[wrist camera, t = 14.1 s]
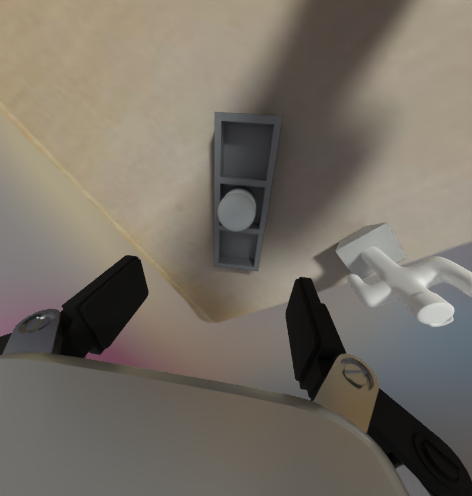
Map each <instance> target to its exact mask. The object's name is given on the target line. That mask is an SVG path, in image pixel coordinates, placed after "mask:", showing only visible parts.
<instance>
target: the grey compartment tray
mask: <svg viewBox="0 0 472 496" xmlns="http://www.w3.org/2000/svg"><path fill="white" fill-rule="evenodd" d="M282 118H283V116H274V115H258V114H242V113H225V112H215V142H214V266H218V267H226V268H234V269H242V270H250V271H258V268H259V262H260V255H261V249H262V243H263V237H264V230H265V224H266V218H267V212H268V205H269V199H270V193H271V187H272V180H273V174H274V168H275V162H276V155H277V149H278V143H279V137H280V130H281V124H282ZM237 186H243V187H246V188H248V189H250V190H251V191H252V192H253V193H254V195H255V197H256V214H255V218H254V221H253V223H252V224H251V225H250V226H249V227H248V228H247V229H245V230H242V231H231V230H228V229H226V228H225V227H224V226H223V225H222V224H221V222H220V221H219V218H218V206H219V204H220V202H221V200H222V199H223V198H224V197H225V195H226V194H227V193H228V192H229V191H230V190H231V189H232V188H234V187H237Z"/></svg>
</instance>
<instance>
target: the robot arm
mask: <svg viewBox="0 0 472 496" xmlns="http://www.w3.org/2000/svg"><path fill="white" fill-rule="evenodd" d="M147 296H148V288H147V284H146V280H145V276H144V272H143V268H142V264H141V260H140V259H138V257H136V256H130V255H127V256H124V257H123V258H122V259H121V260H119V261H118V262H117V263H115V264H114V265H113V266H112V267H110V268H109V269H108V270H107V271H105V272H104V273H103V274H102V275H100V276H99V277H98V278H96V279H95V280H94V281H93V282H91V283H90V284H89V285H87V286H86V287H85V288H84V289H82V290H81V291H80V292H79V293H77V294H76V295H75V296H74V297H72V298H71V299H70V300H68V301H67V302H66V303H64V304H63V305H62V307H63V309H64V310H62V311H61V312H60V311H59V310H57V309H46V310H42V311H39V312H36V313H34V314H32V315H30V316H28V317H26V318H25V319H23V320H22V321H21V322H19V323H18V324H17V325H16V327H15V328H14V330H13V332H12V333H10V334H7V335H4V336H1V337H0V496H472V481H471V479H470V476H469V474H468V472H467V470H466V468H465V467H464V465H463V464H462V462H461V461H460V459H459V458H458V457H457V455H456V454H455V453H454V452H453V451H452V449H450V447H449V446H448V445H447V444H445V443H444V442H443V441H442V440H441V439H440V438H439V437H438V436H436V435H435V434H434V433H433V432H431V431H430V430H429V429H428V428H427V427H426V426H424V425H423V424H422V423H421V422H420V421H418V420H417V419H416V418H415V417H413V416H412V415H411V414H410V413H408V412H407V411H406V410H405V409H404V408H403V407H401V406H400V405H399V404H398V403H396V402H395V401H394V400H393V399H392V398H390V397H389V396H388V395H387V394H386V393H384V392H383V391H382V390H381V389H380V388H379V383H378V380H377V377H376V375H375V374H374V372H373V370H372V369H371V368H370V367H369V366H368V365H367V364H366V363H365V362H364V361H362V360H361V359H359V358H358V357H356V356H354V355H351V354H346V351H345V349H344V347H343V345H342V342H341V340H340V337H339V335H338V333H337V330H336V328H335V326H334V323H333V321H332V318H331V316H330V314H329V311H328V309H327V307H326V305H325V304H323V303H321V302H320V300H319V297H318V295H317V292H316V290H315V287H314V285H313V282H312V280H311V278H305V277H300V278H299V279H296V280H295V283H294V286H293V290H292V293H291V296H290V299H289V303H288V306H287V309H286V322H287V329H288V335H289V342H290V348H291V355H292V361H293V368H294V374H295V379H296V380H297V381H299V383H300V388H301V389H305V390H307V391H308V395H309V397H310V398H311V400H310V401H309V400H306V399H303V398H299V397H295V396H291V395H287V394H283V393H278V392H273V391H268V390H263V389H258V388H253V387H247V386H242V385H235V384H230V383H225V382H219V381H214V380H208V379H202V378H197V377H191V376H185V375H180V374H174V373H168V372H162V371H156V370H151V369H145V368H139V367H133V366H127V365H121V364H115V363H109V362H103V361H97V360H91V359H86V355H87V353H88V352H89V351H90V353H94V354H101V353H102V352H103V351H104V349H106V348H108V347H109V346H110V345H111V344H112V342H113V341H114V340H115V338H116V337H117V336H118V335H119V333H120V332H121V331H122V329H123V328H124V327H125V325H126V324H127V323H128V321H129V320H130V319H131V318H132V316H133V315H134V314H135V312H136V311H137V310H138V308H139V307H140V306H141V305H142V303H143V302H144V300H145V299H146V298H147Z"/></svg>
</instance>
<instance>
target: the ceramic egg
mask: <svg viewBox="0 0 472 496" xmlns="http://www.w3.org/2000/svg"><path fill="white" fill-rule="evenodd" d="M255 214H256V197H255V195H254V193H253V192H252V191H251V190H250V189H248V188H246V187H243V186H237V187H234V188H232V189H231V190H230V191H229V192H228V193H227V194H226V195H225V197H224V198H223V199H222V200H221V202H220V204H219V206H218V218H219V221H220V222H221V224H222V225H223V226H224V227H225V228H226V229H228V230H231V231H242V230H245V229H247V228H248V227H249V226H250V225H251V224H252V223H253V221H254V218H255Z"/></svg>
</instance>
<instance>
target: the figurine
mask: <svg viewBox="0 0 472 496" xmlns="http://www.w3.org/2000/svg"><path fill="white" fill-rule="evenodd" d="M335 252H336V253H337V254H338V256H339V257H340V258H341V260H342V261H343V262H344V264H345V265H346V266H347V268H348V269H349V270H350V272H351V273H352V274H350V275H348V277H347V281H348V283H349V284H350V286H351V287H352V289H353V290H354V292H355V293H356V295H357V296H358V297H359V299H360V300H361V301H362V302H363V303H364V304H365V305H366V306H368V307H370V308H377V307H380V306H382V305H385V304H387V303H390V302H393V301H395V300H398V299H399V300H402V301H403V302H404V303H405V304H406V307H407V309H408V310H409V311H410V312H411V313H412V314H413V315H414V316H415V317H416V318H417V319H418V320H419V321H420V322H422V323H425V324H428V325H429V326H432V327H438V326H443V325H446V324H448V323H450V322H452V321H453V317H452V315H453V314H454V307H453V306H452V305H450V304H449V303H448V302H446V301H445V300H444V299H442V298H441V297H440V296H439V295H437V294H435V293H432V292H431V291H429V290H428V288H429V287H432V286H434V285H437V284H439V283H448V284H451V285H453V286H455V287H457V288H458V289H460V290H461V291H463V292H464V293H465V294H467V295H469V296H470V297H472V273H471V272H470V271H468V270H466V269H465V268H462V267H461V266H459V265H458V264H456V263H454V262H452V261H450V260H447V259H445V258H442V257H430V258H427V259H425V260H423V261H420V262H418V263H416V264H414V265H411V266H409V267H400V266H399V265H398V264H397V263H398V262H400V261H402V260H404V259H406V258H407V256H406V255H405V253H404V251H403V249H402V248H401V246H400V244H399V242H398V241H397V239H396V237H395V236H394V234H393V232H392V230H391V229H390V227H389V225H388V223H387V222H386V223H380V224H375V225H370V226H366V227H364V228H362V229H360V230H359V231H357V232H355V233H354V234H352V235H350V236H348V237H347V238H345V239H343V240H341V241H340V242H339V244H338V246H337V248H336V251H335ZM374 273H376V274H377V275H378V276H379V277H380V278H381V279H380V280H378V281H376V282H373V283H371V284H365V283H364V282H363V281H362V280H361V279H363V278H365V277H367V276H370V275H372V274H374Z"/></svg>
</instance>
